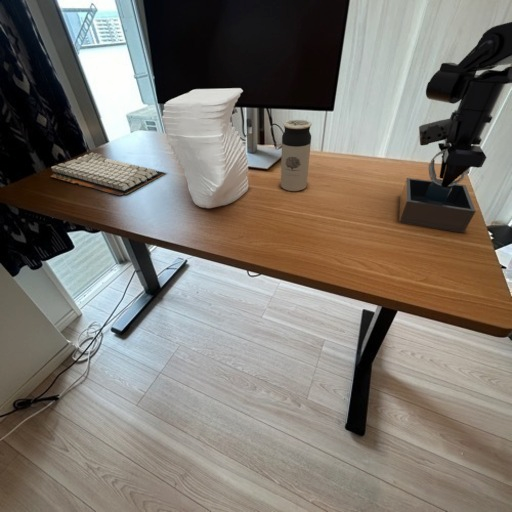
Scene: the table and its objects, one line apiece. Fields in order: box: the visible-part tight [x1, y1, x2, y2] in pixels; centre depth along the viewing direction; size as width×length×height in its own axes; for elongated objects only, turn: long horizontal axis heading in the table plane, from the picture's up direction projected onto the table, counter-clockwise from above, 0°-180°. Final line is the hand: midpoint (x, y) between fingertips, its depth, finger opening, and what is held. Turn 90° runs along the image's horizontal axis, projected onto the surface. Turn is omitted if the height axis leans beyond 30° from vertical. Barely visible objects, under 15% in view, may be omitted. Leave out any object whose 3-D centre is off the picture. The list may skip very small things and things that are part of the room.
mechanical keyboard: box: [50, 152, 167, 196], centre depth 93 cm, size 38×19×3 cm, turn 63°
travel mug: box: [280, 119, 313, 192], centre depth 77 cm, size 8×8×18 cm
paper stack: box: [161, 87, 250, 209], centre depth 72 cm, size 21×27×26 cm
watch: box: [424, 149, 471, 203], centre depth 62 cm, size 6×8×11 cm
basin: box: [399, 177, 477, 234], centre depth 67 cm, size 14×14×6 cm
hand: (442, 182), depth 63 cm, fingers closed on watch, 4 cm apart
